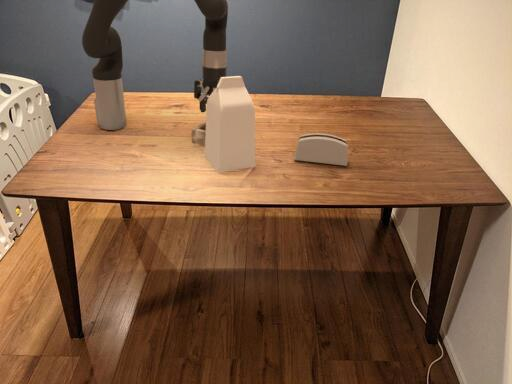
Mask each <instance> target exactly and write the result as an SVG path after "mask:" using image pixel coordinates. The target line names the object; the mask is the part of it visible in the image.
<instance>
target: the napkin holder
mask: <svg viewBox="0 0 512 384" xmlns="http://www.w3.org/2000/svg"><path fill="white" fill-rule="evenodd" d="M348 153H349V143H348V141H347V140H346V139H345V138H342V137H339V136H337V135H333V134H329V133H317V132H316V133H305V134H302V135H300V137H299V138H298V140H297V145H296V148H295V151H294V157H293V159H294V161H300V162H301V161H302V162H309V163H310V162H311V163H318V164H319V163H320V164H327V165H335V166H344V167H347V166H348V159H349V157H348V155H349V154H348Z"/></svg>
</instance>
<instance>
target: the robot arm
mask: <svg viewBox="0 0 512 384" xmlns="http://www.w3.org/2000/svg"><path fill="white" fill-rule="evenodd" d="M128 1H129V0H94V1H93V4H92V8H91V11H90V14H89V16H88V19H87V22H86V24H85V27H84V30H83V33H82V36H81V45H82V49H83V51H84V53H85V54H86V55H87V57H89V58H92V59H99V60H98V61H97V64H96V65H95V66H94V67H93V68H92V71H91V72H92V81H93V88H94V95H95V96H94V97H95V98H94V99H93V102H94V109H95V110H94V111H95V115H96V116H95V117H96V122H97V126H99V127H100V129H102V130H105V131H106V130H108V131H109V130H110V131H111V130H113V131H115V130H120V129H123V128H126V127H127V124H128V123H127V114H126V105H125V97H124V95H125V94H124V86H123V79H122V71H123V66H124V65H123V63H124V62H123V45H122V39H121V37H120V35H119V32H118V31H117V30H116V29H115V28H114V27H112V25H113V21H114V20H115V18H116V17H117V16H118V14H119V13H120V12H121V10H122V9H123V8H124V6H126V4H127V3H128ZM194 2H195V4H196V6H197V8H198V9H199V11H200V13H201V14H202V15H203V16H204V17H205V19H204V21H205V22H204V23H205V24H204V31H203V36H202V37H203V38H202V79H203V80H202V79H201V78H200V79H196V80H194V85H193V86H194V87H193V97H194V99H197V100H198V101H199V110H200V112H201V113H205V112H206V111H207V104H205V99H206V97H209V96H210V95H211V94H212V92H213V91H214V90H215V89H216V88H217V85H218V83H219V80H220V78H221V77H227V65H228V64H227V59H228V58H227V26H228V18H229V17H228V16H229V5H228V2H227V0H194ZM202 87H203V91H202Z"/></svg>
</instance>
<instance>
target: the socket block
mask: <svg viewBox="0 0 512 384" xmlns="http://www.w3.org/2000/svg"><path fill="white" fill-rule="evenodd" d="M205 135H206V121H205V122H203V123H201V124H199V125H197V126H195V127H194V128H191V143H192V144H195V145H199V146H203V147H205Z"/></svg>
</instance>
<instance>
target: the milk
mask: <svg viewBox="0 0 512 384" xmlns="http://www.w3.org/2000/svg"><path fill="white" fill-rule="evenodd" d="M207 97H208V100H207V104H206V111H205V112H206V114H205V118H206V119H205V122H206V135H205V146H204V159H205V160H206V161H207V162H208V163H209V164H210V165H211V167H212V168H214V169H215V170H216V172H217V173H218V174H221V173H226V172H231V171H232V172H233V171H236V170H243V169H244V170H245V169H249V168H255V167H256V110H255V109H256V108H255V104H254V102H253V99H252V97H251V96H250V94H249V91H248V90H247V88H246V85H245V83H244V79H243V76H241V75H234V76H233V75H232V76H226V77H221V78H220V80H219V83H218V85H217V88H216V89H215V90H214V91H213V92H212V94H211V95H210V96H209V95H208V96H207Z"/></svg>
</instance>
